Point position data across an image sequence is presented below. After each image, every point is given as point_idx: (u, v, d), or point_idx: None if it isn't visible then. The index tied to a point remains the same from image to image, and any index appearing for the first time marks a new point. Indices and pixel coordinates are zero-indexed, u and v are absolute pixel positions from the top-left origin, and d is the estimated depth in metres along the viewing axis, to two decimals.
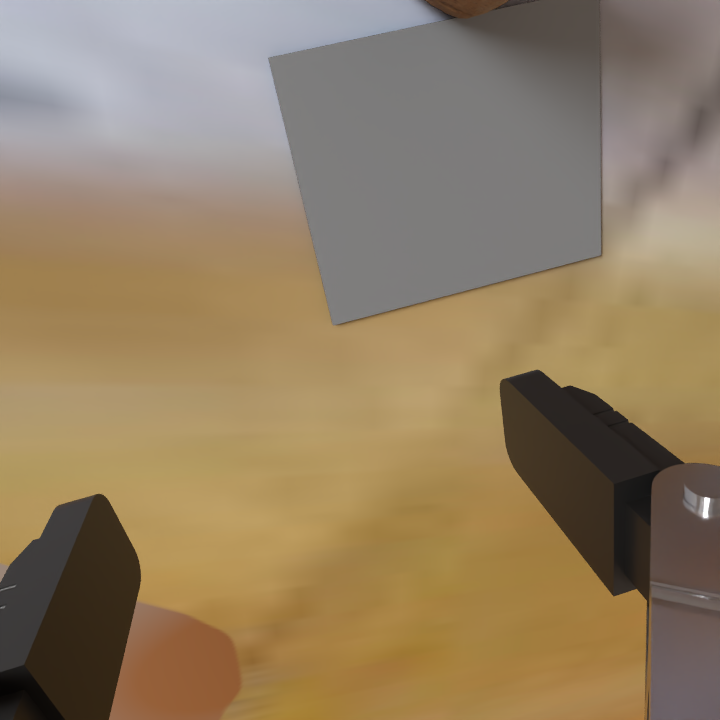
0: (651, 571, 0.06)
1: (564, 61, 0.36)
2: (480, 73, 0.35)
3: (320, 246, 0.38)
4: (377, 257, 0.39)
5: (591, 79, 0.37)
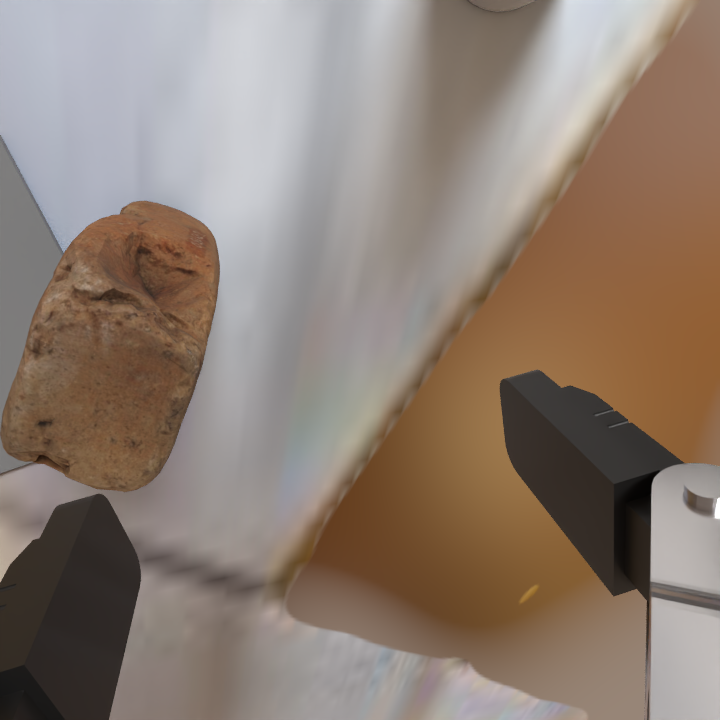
0: (651, 571, 0.06)
1: None
2: None
3: None
4: None
5: None
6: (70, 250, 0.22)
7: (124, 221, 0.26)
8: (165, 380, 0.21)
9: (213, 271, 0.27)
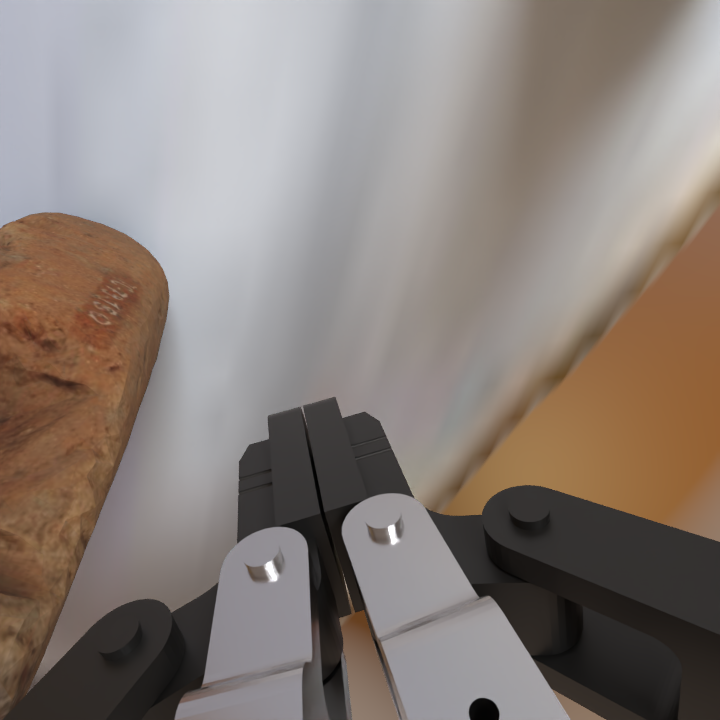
0: (372, 621, 0.06)
1: None
2: None
3: None
4: None
5: None
6: None
7: None
8: None
9: (124, 380, 0.13)
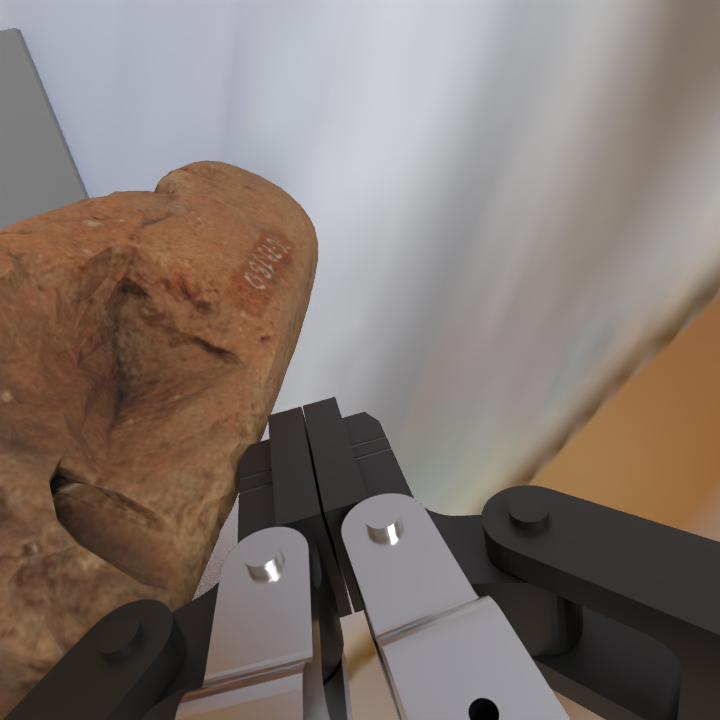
0: (372, 622, 0.06)
1: None
2: None
3: None
4: None
5: None
6: None
7: (114, 215, 0.12)
8: None
9: (274, 352, 0.12)
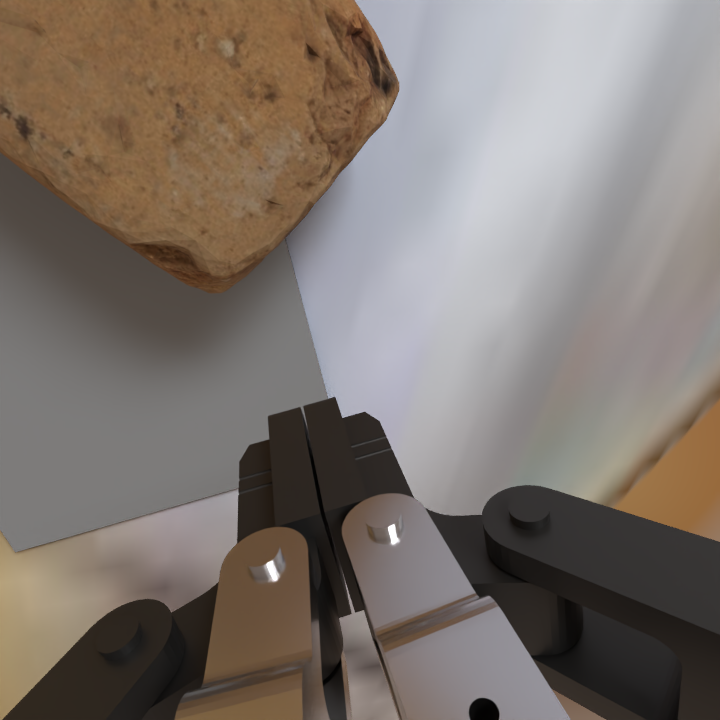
0: (372, 621, 0.06)
1: (264, 437, 0.28)
2: (237, 334, 0.26)
3: None
4: None
5: None
6: None
7: None
8: None
9: None
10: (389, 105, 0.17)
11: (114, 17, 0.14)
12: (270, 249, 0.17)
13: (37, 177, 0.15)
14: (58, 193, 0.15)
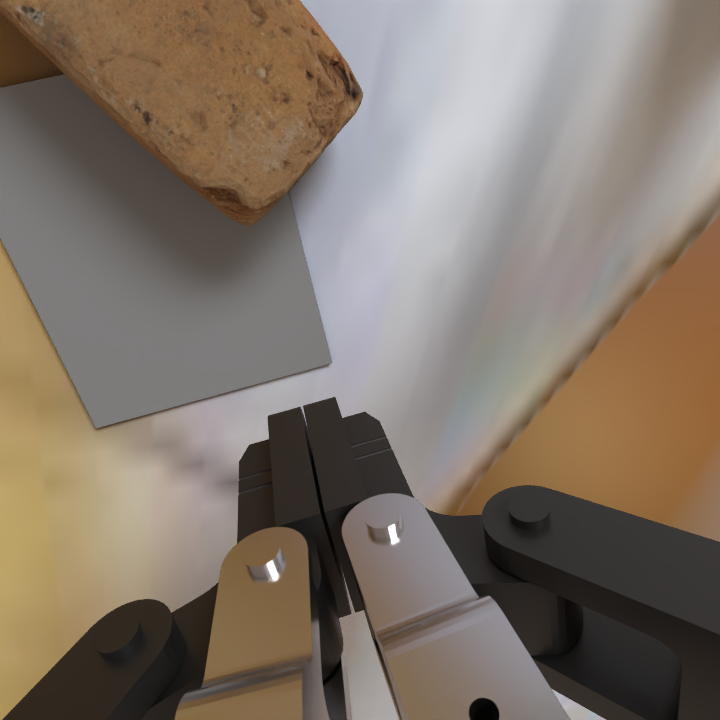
0: (372, 622, 0.06)
1: (274, 345, 0.39)
2: (257, 267, 0.37)
3: (45, 87, 0.30)
4: (44, 164, 0.32)
5: (262, 374, 0.40)
6: None
7: None
8: None
9: None
10: (356, 106, 0.29)
11: (200, 56, 0.25)
12: (285, 191, 0.28)
13: (150, 147, 0.26)
14: (162, 156, 0.26)
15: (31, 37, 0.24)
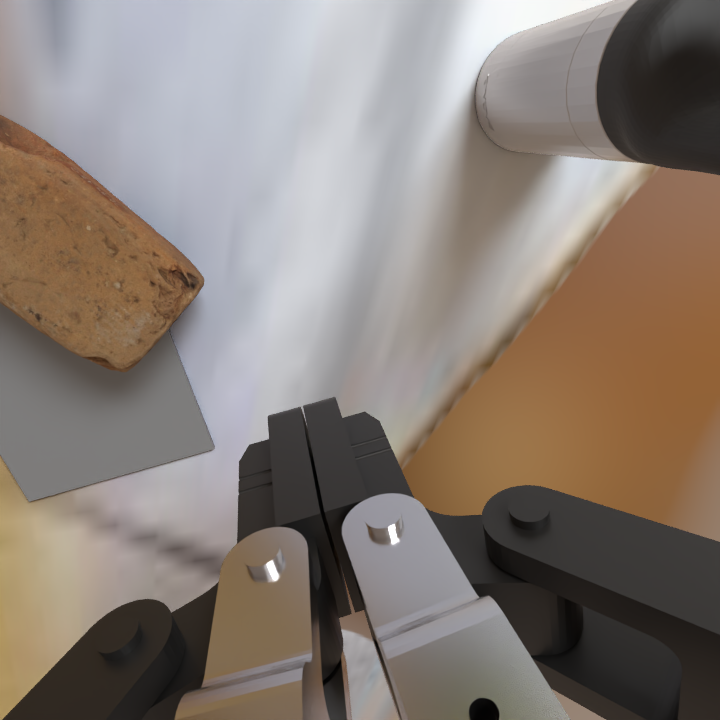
0: (372, 622, 0.06)
1: (166, 438, 0.51)
2: (147, 383, 0.48)
3: None
4: None
5: (158, 458, 0.52)
6: None
7: (89, 176, 0.40)
8: None
9: (41, 158, 0.35)
10: (195, 292, 0.40)
11: (73, 277, 0.37)
12: (141, 357, 0.39)
13: (43, 333, 0.38)
14: (51, 338, 0.38)
15: None
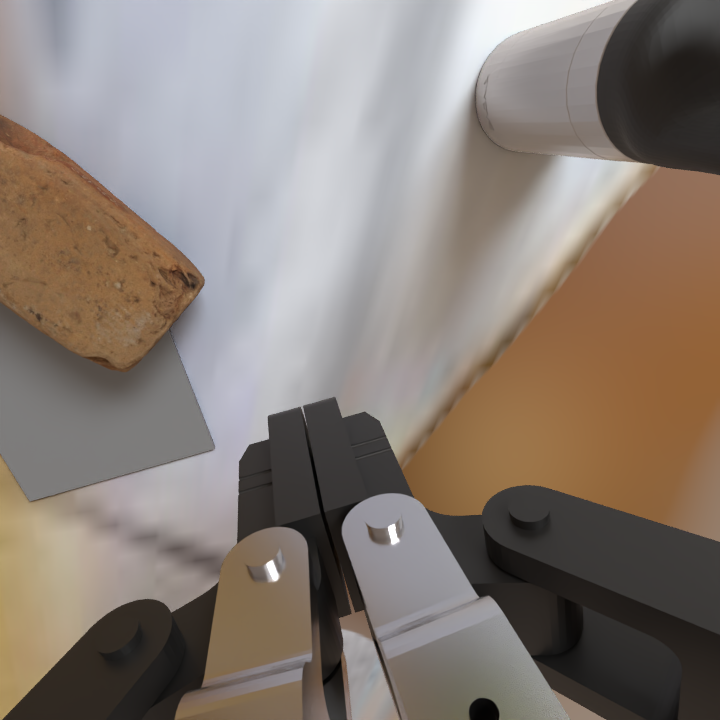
0: (372, 622, 0.06)
1: (167, 437, 0.51)
2: (148, 383, 0.49)
3: None
4: None
5: (159, 458, 0.52)
6: None
7: None
8: None
9: (41, 158, 0.35)
10: (196, 292, 0.40)
11: (73, 277, 0.37)
12: (142, 357, 0.39)
13: None
14: (52, 338, 0.38)
15: None
